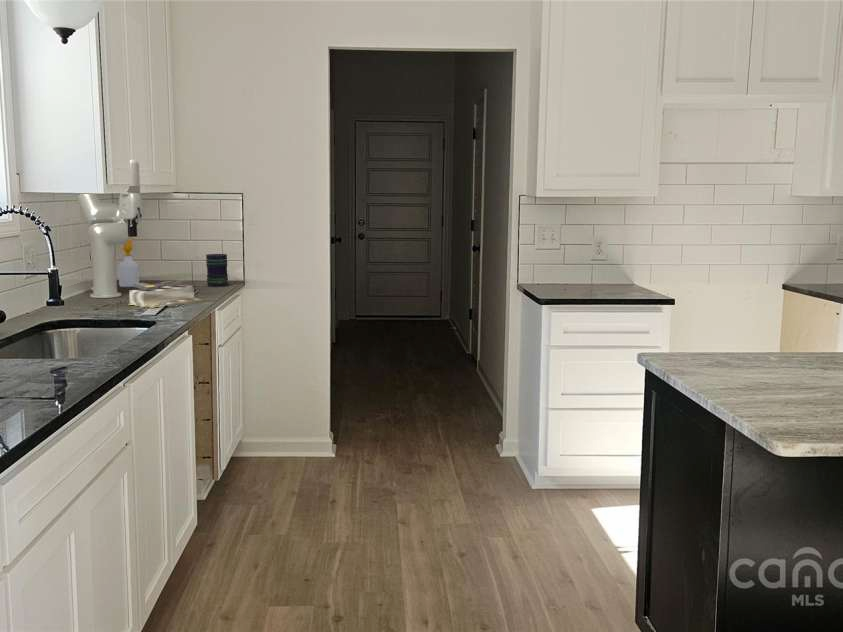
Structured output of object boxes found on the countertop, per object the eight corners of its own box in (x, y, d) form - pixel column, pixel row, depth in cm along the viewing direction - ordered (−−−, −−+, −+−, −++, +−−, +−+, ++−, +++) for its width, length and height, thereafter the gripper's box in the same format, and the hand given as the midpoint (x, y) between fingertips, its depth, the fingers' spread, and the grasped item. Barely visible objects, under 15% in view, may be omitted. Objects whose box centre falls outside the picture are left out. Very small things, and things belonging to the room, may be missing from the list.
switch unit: (128, 305, 343) (127, 290, 342) (180, 299, 362) (179, 284, 361) (151, 308, 334) (150, 293, 333) (203, 301, 353) (202, 287, 352)
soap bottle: (138, 284, 415) (135, 233, 411) (140, 286, 407) (137, 234, 403) (118, 285, 411) (115, 234, 408) (120, 287, 403) (117, 235, 399)
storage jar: (232, 285, 410) (231, 254, 408) (215, 287, 402) (214, 255, 400) (219, 284, 416) (218, 253, 414) (202, 286, 409) (201, 254, 407)
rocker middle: (150, 287, 349) (150, 284, 349) (160, 286, 353) (159, 283, 353) (163, 285, 344) (163, 281, 344) (173, 284, 347) (172, 281, 347)
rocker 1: (133, 286, 343) (133, 283, 343) (142, 285, 347) (142, 282, 346) (146, 290, 338) (146, 287, 338) (156, 289, 341) (156, 286, 341)
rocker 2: (167, 285, 356) (166, 282, 356) (176, 284, 359) (175, 281, 359) (180, 283, 350) (180, 280, 350) (189, 282, 354) (188, 279, 353)
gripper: (111, 190, 345) (113, 236, 348) (133, 190, 336) (135, 237, 339) (127, 190, 351) (129, 235, 354) (149, 190, 342) (151, 236, 345)
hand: (132, 236), depth 346 cm, fingers closed
